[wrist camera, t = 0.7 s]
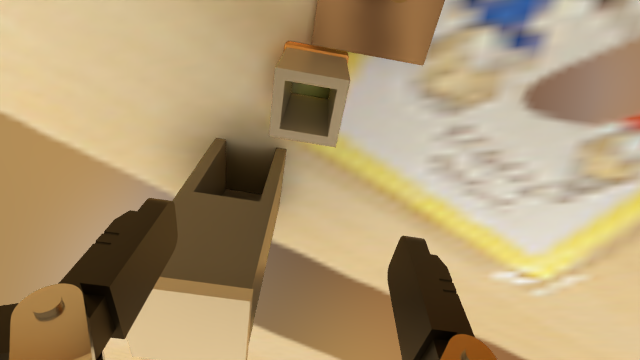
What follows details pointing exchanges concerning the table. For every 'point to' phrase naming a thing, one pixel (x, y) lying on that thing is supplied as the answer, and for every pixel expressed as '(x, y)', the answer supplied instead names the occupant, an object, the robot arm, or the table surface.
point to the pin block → (378, 27)
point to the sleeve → (306, 111)
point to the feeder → (211, 267)
